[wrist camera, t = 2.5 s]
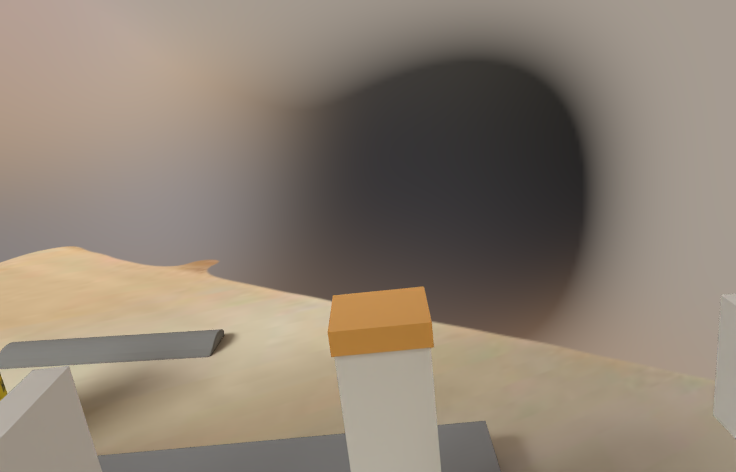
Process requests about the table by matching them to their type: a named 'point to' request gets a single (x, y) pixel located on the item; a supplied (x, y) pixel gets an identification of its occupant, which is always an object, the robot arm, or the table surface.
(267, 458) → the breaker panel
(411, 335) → the white orange rectangular block
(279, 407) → the table surface
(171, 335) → the half round rod
